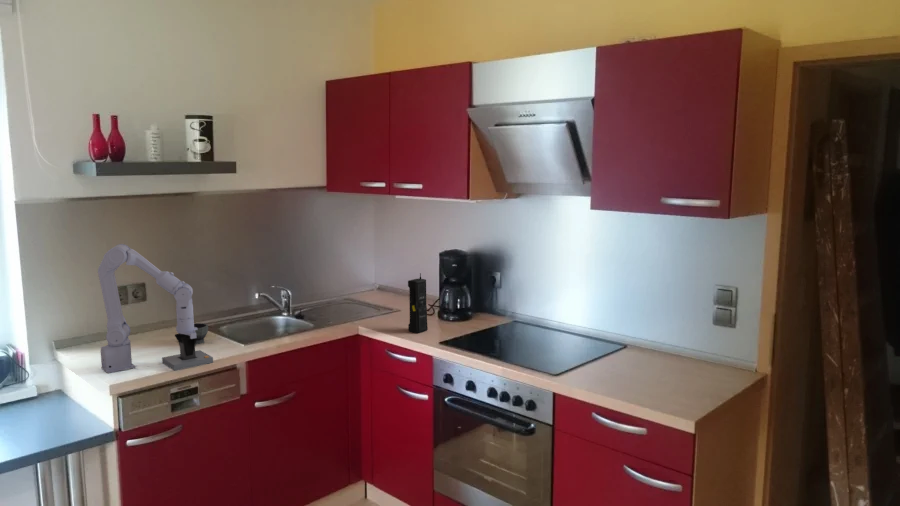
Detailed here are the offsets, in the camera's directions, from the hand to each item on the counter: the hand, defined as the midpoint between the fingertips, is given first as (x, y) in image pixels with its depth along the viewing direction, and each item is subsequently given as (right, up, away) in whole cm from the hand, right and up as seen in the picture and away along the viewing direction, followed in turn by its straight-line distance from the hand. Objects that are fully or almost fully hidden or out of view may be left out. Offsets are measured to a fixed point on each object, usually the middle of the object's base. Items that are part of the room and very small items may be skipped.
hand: (187, 353), depth 241 cm
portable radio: (+82, +3, +45) cm, 94 cm away
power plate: (0, -3, 0) cm, 3 cm away
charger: (0, -2, 0) cm, 2 cm away
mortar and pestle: (-7, 0, +26) cm, 27 cm away
